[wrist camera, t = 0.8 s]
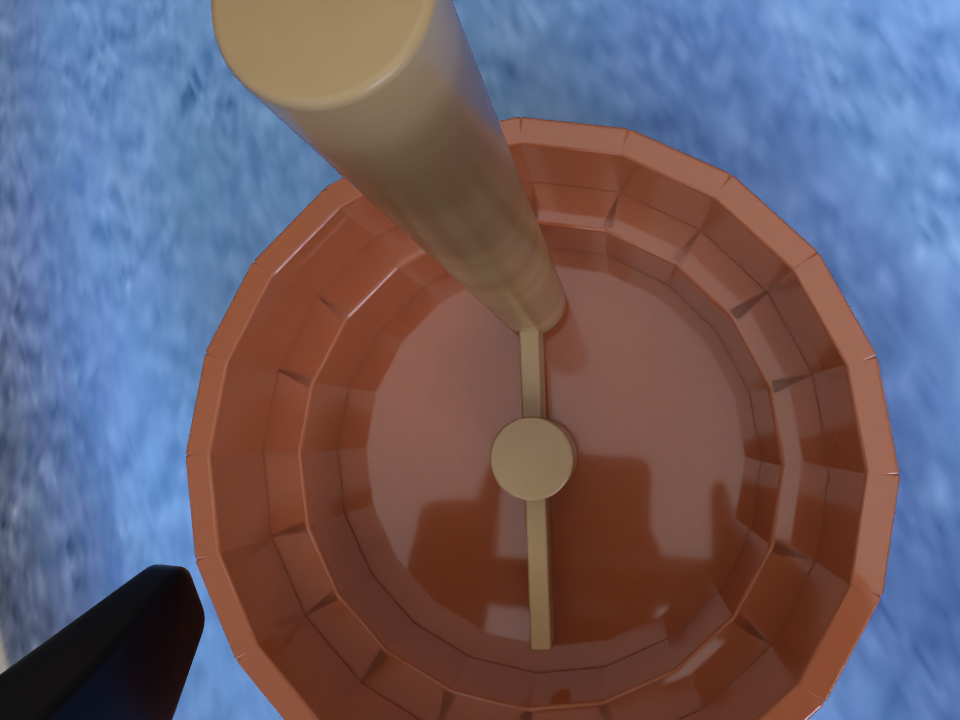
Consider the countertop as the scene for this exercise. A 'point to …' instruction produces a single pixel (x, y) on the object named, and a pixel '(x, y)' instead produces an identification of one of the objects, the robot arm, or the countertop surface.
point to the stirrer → (424, 189)
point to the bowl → (595, 481)
